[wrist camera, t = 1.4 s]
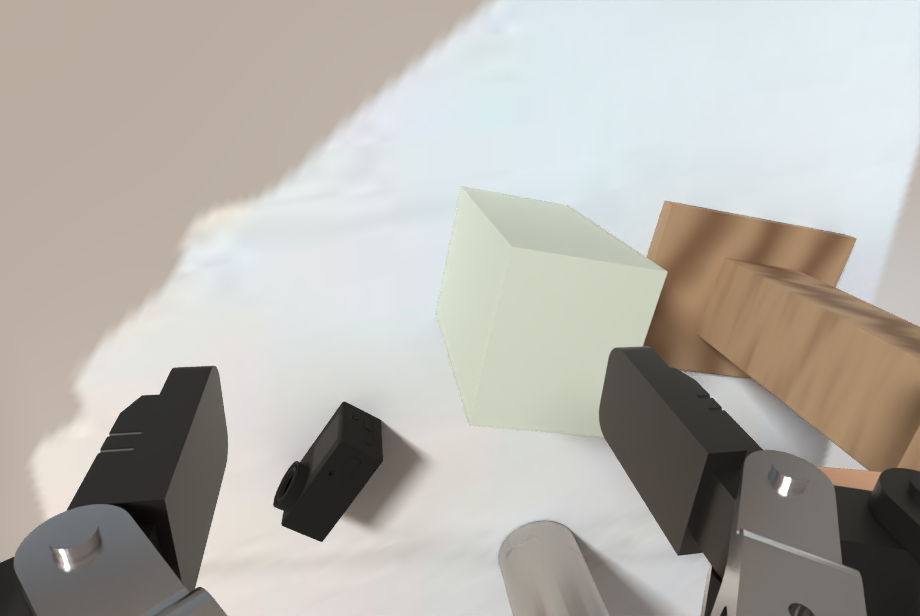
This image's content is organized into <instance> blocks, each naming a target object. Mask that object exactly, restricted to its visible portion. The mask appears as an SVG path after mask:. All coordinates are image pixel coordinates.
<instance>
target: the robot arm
mask: <svg viewBox="0 0 920 616" xmlns="http://www.w3.org/2000/svg"><path fill="white" fill-rule="evenodd" d="M721 408H722V407H721V406H720V405H719V404H718V403H717V402H716V401H715V400H714V399H713V398H710V395H709V394H708V393H707V392H706V391H705V390H704V389H703V388H702V387H701V386H700V384H699V383H698V382H697V381H696V380H694V379H693V378H691V377H689V376H687V375H686V374H684V373H682V372H681V371H679V370H677V369H675V368H674V367H673V368H670V367H669V366H668V365H667V364H666V363H665V362H664V361H663V359H662V358H661V357H660V356H659V355H658V354H657V353H656V352H655V351H654V350H653V349H652V348H651V347H649V346H639V347H616V348H614V349H613V350H612V351H611V352H610V355H609V358H608V363H607V369H606V374H605V379H604V385H603V390H602V395H601V400H600V406H599V423H600V428H601V431H602V434H603V436H604V438H605V439H606V441H607V443H608V444H609V446H610V447H611V449H612V451H613V452H614V454H615V455H616V457H617V459H618V460H619V462H620V463H621V465H622V467H623V468H624V470H625V472H626V473H627V475H628V476H629V478H630V480H631V481H632V483H633V484H634V486H635V488H636V489H637V491H638V492H639V494H640V496H641V497H642V499H643V500H644V502H645V504H646V505H647V507H648V508H649V510H650V512H651V513H652V515H653V516H654V518H655V520H656V521H657V523H658V524H659V526H660V528H661V529H662V531H663V532H664V534H665V536H666V537H667V539H668V540H669V542H670V544H671V545H672V547H673V548H674V550H675V552H676V553H677V555H678V556H679V555H687V554H696V553H704V555H705V556H706V558H707V559H708V561H709V562H710V564H711V565H710V568H709V571H708V574H707V579H706V585H705V591H704V598H703V604H702V610H701V616H920V471H917V470H912V469H906V468H890V469H887V470H885V471H883V472H882V473H881V474H880V476H879V478H878V480H877V482H876V485H875V487H874V489H873V491H869V490H863V489H856V488H849V487H843V486H836V485H833V484H832V482H831V481H830V479H829V478H828V477H827V476H826V475H825V474H824V473H823V472H822V471H821V470H820V469H818V468H817V467H816V466H814V465H813V464H811V463H809V462H807V461H806V460H804V459H802V458H799V457H797V456H794V455H791V454H789V453H785V452H781V451H775V450H763V449H762V448H761V447H760V446H759V445H758V444H757V443H756V442H755V441H754V440H753V439H752V438H751V437H750V436H749V435H748V434H747V433H746V432H745V431H744V430H743V429H742V428H741V427H740V426H739V425H738V424H737V423H736V422H735V421H734V420H733V418H732V417H731V416H730V415H729V414H728V413H727V412H726V411H725V410H723V411H722V409H721ZM100 450H101V452H100V453H98V455H97V456H96V458H95V460H94V462H93V464H92V465H91V467H90V469H89V471H88V473H87V474H86V476H85V478H84V480H83V482H82V484H81V485H80V487H79V489H78V491H77V493H76V494H75V496H74V498H73V500H72V502H71V504H70V505H69V507H68V509H67V511H65V512H63V513H60V514H58V515H56V516H54V517H52V518H50V519H49V520H47V521H45V522H44V523H42V524H41V525H39V526H38V527H37V528H36V529H34V530H33V531H32V532H31V533H30V534H29V535H28V536H27V537H26V538H25V539H24V540H23V542H22V543H21V544H20V546H19V547H18V549H17V551H16V553H15V557H13V558H10V559H8V560H6V561H4V562H1V563H0V616H227V615H226V613H225V612H224V611H223V609H222V608H221V607H220V606H219V604H218V603H217V602H216V601H215V599H214V598H213V597H212V596H211V595H210V594H209V593H208V592H207V591H206V590H205V589H204V588H202V587H198V588H196V589H195V586H196V582H197V578H198V574H199V570H200V566H201V562H202V558H203V554H204V550H205V546H206V542H207V539H208V535H209V531H210V527H211V523H212V519H213V515H214V511H215V507H216V503H217V499H218V495H219V491H220V487H221V483H222V479H223V475H224V471H225V467H226V462H227V454H228V435H227V427H226V420H225V413H224V406H223V398H222V391H221V384H220V377H219V372H218V369H217V367H216V366H200V367H178V368H173V369H172V370H171V372H170V374H169V376H168V378H167V380H166V382H165V384H164V386H163V388H162V390H161V393H160V395H145V396H141V397H140V398H138V399H137V400H136V401H135V402H133V403H132V404H131V405H130V406H129V407H127V408H126V409H125V410H124V411H122V412H121V413H120V415H119V416H118V418H117V420H116V422H115V424H114V425H113V427H112V429H111V431H110V436H109V437H107V438H106V440H105V442H104V444H103V445H102V447H101V449H100ZM498 557H499V565H500V569H501V573H502V576H503V580H504V584H505V587H506V591H507V595H508V599H509V602H510V606H511V610H512V613H513V616H610V615H609V613H608V611H607V608H606V606H605V604H604V602H603V600H602V597H601V595H600V593H599V591H598V589H597V586H596V584H595V582H594V580H593V578H592V575H591V573H590V571H589V569H588V566H587V564H586V562H585V560H584V557H583V555H582V553H581V551H580V549H579V546H578V544H577V542H576V540H575V538H574V536H573V534H572V532H571V531H570V530H569V529H568V528H567V527H565V526H563V525H562V524H559V523H556V522H551V521H538V522H533V523H529V524H527V525H524V526H522V527H520V528H519V529H517V530H515V531H514V532H513V533H512V534H510V535H509V536H508V537H507V539H506V540H505V541H504V542H503V544H502V546H501V548H500V551H499V556H498Z"/></svg>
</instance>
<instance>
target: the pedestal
mask: <svg viewBox="0 0 920 616" xmlns="http://www.w3.org/2000/svg"><path fill="white" fill-rule="evenodd" d="M666 275H667V271H666V270H664V269H663V268H661V267H660V266H658V265H657V264H655V263H654V262H652V261H651V260H649V259H648V258H646V257H645V256H643V255H642V254H640V253H639V252H637V251H636V250H634V249H633V248H631V247H630V246H628V245H627V244H625V243H624V242H622V241H621V240H619V239H618V238H616V237H615V236H613V235H612V234H610V233H609V232H607V231H606V230H604V229H603V228H601V227H600V226H598V225H597V224H595V223H594V222H592V221H591V220H589V219H588V218H586V217H585V216H583V215H582V214H580V213H579V212H577V211H576V210H574V209H573V208H571V207H570V206H568V205H562V204H557V203H551V202H546V201H540V200H534V199H529V198H523V197H518V196H512V195H507V194H501V193H495V192H490V191H484V190H479V189H473V188H468V187H462V186H461V189H460V194H459V199H458V204H457V209H456V214H455V219H454V224H453V229H452V234H451V239H450V243H449V248H448V253H447V258H446V263H445V268H444V273H443V278H442V283H441V288H440V293H439V298H438V303H437V308H436V313H435V314H436V317H437V320H438V324H439V327H440V330H441V334H442V337H443V340H444V343H445V347H446V350H447V353H448V357H449V360H450V363H451V367H452V370H453V373H454V377H455V380H456V383H457V387H458V390H459V393H460V397H461V400H462V403H463V407H464V410H465V413H466V417H467V420H468V423H469V425H470V426H481V427H492V428H503V429H514V430H525V431H536V432H547V433H558V434H569V435H579V436H590V437H601V438H604V436H603V434H602V431H601V428H600V423H599V406H600V400H601V395H602V390H603V385H604V379H605V374H606V369H607V363H608V358H609V355H610V352H611V351H612V350H613V349H614V348H616V347H639V346H643V344H644V341H645V338H646V335H647V332H648V329H649V326H650V323H651V320H652V317H653V314H654V311H655V308H656V305H657V302H658V299H659V296H660V293H661V290H662V287H663V284H664V281H665V278H666Z"/></svg>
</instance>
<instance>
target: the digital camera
mask: <svg viewBox="0 0 920 616" xmlns="http://www.w3.org/2000/svg"><path fill="white" fill-rule="evenodd" d="M352 416H353V417H352ZM352 418H354V419H352ZM358 419H359V420H358ZM356 420H357V421H356ZM382 461H383V453H382V436H381V420H380V419H378V418H376V417H374V416H372V415H370V414H368V413H366V412H364V411H362V410H360V409H358V408H356V407H354V406H352V405H350V404H348V403H346V402H343V403H342V404H341V405H340V407H339V408H338V409H337V411H336V412H335V414H334V415H333V416H332V418H331V419H330V421H329V422H328V424H327V425H326V426H325V428H324V429H323V431H322V432H321V433H320V435H319V436H318V438H317V439H316V440H315V442H314V443H313V445H312V446H311V448H310V449H309V450H308V452H307V453H306V455H305V456H304V457H303V459H302V460H301V462H298V461H296V462H294V463H293V464H292V465H291V466H290V468H289V469H288V471H287V472H286V474H285V475H284V477H283V479H282V481H281V483H280V485H279V487H278V490H277V492H276V495H275V498H274V503H273V505H274V507H276V508H278V509H281V510H283V511H284V512H283V518H282V523H281V524H282V526H284V527H286V528H289V529H291V530H294V531H296V532H299V533H301V534H303V535H306V536H308V537H311V538H313V539H316V540H318V541H320V542H322V541H323V540H324V539H325V538H326V536H327V535H328V534H329V532H330V531H331V530H332V528H333V527H334V526H335V524H336V523H337V522H338V520H339V519H340V518H341V516H342V515H343V514H344V512H345V511H346V510H347V508H348V507H349V506H350V504H351V503H352V502H353V500H354V499H355V498H356V496H357V495H358V494H359V492H360V491H361V490H362V488H363V487H364V486H365V484H366V483H367V482H368V480H369V479H370V478H371V476H372V475H373V474H374V472H375V471H376V469H377V468H378V467H379V465H380V464H381V463H382Z"/></svg>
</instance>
